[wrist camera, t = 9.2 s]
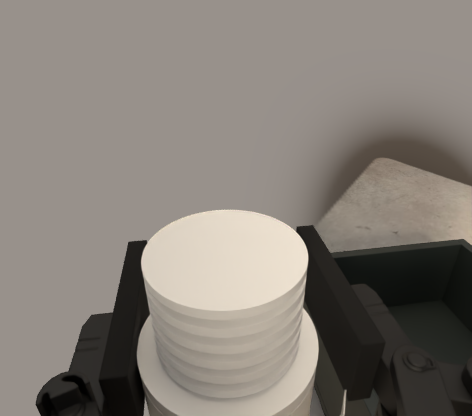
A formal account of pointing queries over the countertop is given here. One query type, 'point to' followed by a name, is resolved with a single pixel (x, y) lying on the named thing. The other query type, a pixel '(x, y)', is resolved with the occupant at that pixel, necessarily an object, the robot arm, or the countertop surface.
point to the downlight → (227, 318)
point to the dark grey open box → (408, 307)
